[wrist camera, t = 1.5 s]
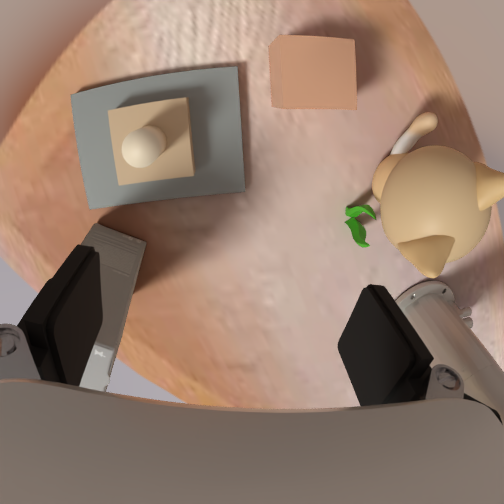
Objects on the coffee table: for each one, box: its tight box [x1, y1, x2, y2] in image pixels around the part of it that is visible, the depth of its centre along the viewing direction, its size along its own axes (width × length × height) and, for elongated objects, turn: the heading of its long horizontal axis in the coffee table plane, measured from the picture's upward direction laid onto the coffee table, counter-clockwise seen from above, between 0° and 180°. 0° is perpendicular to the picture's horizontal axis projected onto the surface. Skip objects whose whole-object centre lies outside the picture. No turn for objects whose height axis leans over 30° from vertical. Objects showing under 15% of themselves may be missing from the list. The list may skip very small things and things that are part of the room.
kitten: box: [345, 112, 504, 278], centre depth 26 cm, size 15×10×15 cm, turn 139°
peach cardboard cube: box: [268, 35, 357, 110], centre depth 24 cm, size 6×6×6 cm
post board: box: [71, 66, 245, 209], centre depth 25 cm, size 16×12×6 cm
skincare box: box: [79, 223, 146, 392], centre depth 27 cm, size 8×7×16 cm
